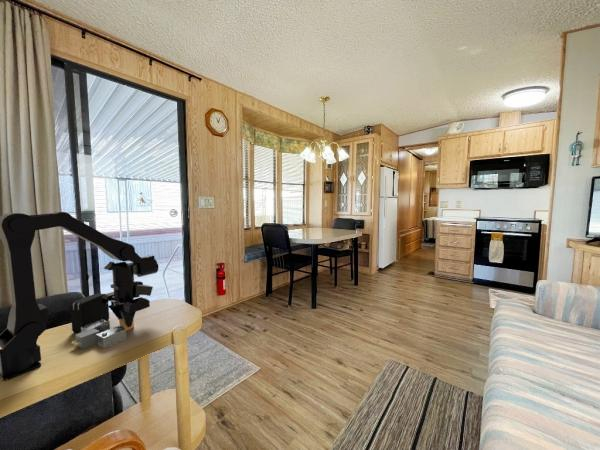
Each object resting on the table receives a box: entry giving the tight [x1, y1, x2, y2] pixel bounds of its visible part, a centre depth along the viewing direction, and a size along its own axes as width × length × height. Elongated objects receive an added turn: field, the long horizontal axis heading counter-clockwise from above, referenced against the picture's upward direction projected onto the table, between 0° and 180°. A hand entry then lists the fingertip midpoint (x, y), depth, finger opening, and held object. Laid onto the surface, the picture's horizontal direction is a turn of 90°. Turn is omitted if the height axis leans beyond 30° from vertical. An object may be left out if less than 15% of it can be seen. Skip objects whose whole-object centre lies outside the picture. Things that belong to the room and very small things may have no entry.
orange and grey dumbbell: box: [71, 318, 135, 350], centre depth 79 cm, size 16×4×4 cm, turn 151°
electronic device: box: [69, 293, 110, 333], centre depth 87 cm, size 4×10×10 cm, turn 174°
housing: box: [80, 319, 127, 349], centre depth 79 cm, size 6×14×4 cm, turn 61°
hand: (126, 325), depth 85 cm, fingers closed on orange and grey dumbbell, 3 cm apart
